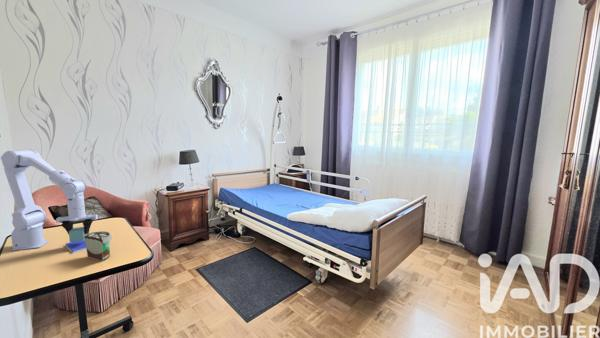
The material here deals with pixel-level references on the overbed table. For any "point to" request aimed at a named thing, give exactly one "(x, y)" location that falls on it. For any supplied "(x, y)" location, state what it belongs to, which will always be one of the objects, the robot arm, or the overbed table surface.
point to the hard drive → (76, 246)
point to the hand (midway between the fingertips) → (79, 235)
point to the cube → (76, 234)
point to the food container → (98, 245)
